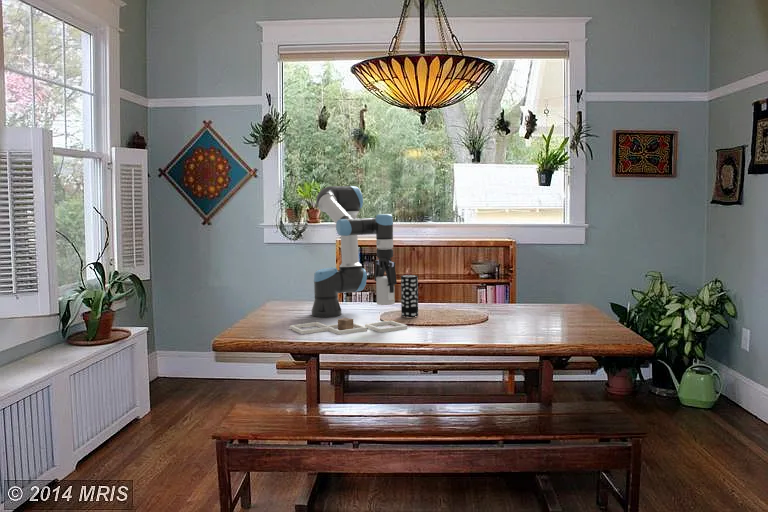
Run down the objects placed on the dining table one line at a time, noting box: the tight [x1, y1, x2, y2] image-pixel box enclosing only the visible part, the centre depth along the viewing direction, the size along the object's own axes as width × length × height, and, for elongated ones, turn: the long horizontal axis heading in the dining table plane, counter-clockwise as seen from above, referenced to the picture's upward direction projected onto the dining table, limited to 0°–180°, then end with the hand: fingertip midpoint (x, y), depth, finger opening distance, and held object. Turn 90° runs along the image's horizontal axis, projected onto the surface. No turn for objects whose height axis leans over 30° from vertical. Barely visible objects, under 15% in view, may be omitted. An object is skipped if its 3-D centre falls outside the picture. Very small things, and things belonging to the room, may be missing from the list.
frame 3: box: [364, 320, 408, 333], centre depth 308 cm, size 14×14×2 cm
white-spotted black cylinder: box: [400, 274, 419, 318], centre depth 334 cm, size 8×8×20 cm
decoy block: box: [337, 317, 355, 330], centre depth 305 cm, size 5×5×5 cm
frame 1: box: [289, 321, 330, 335], centre depth 307 cm, size 14×14×2 cm
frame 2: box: [325, 322, 368, 335], centre depth 305 cm, size 14×14×2 cm
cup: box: [375, 275, 396, 306], centre depth 306 cm, size 8×8×12 cm
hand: (385, 298), depth 307 cm, fingers closed on cup, 8 cm apart
